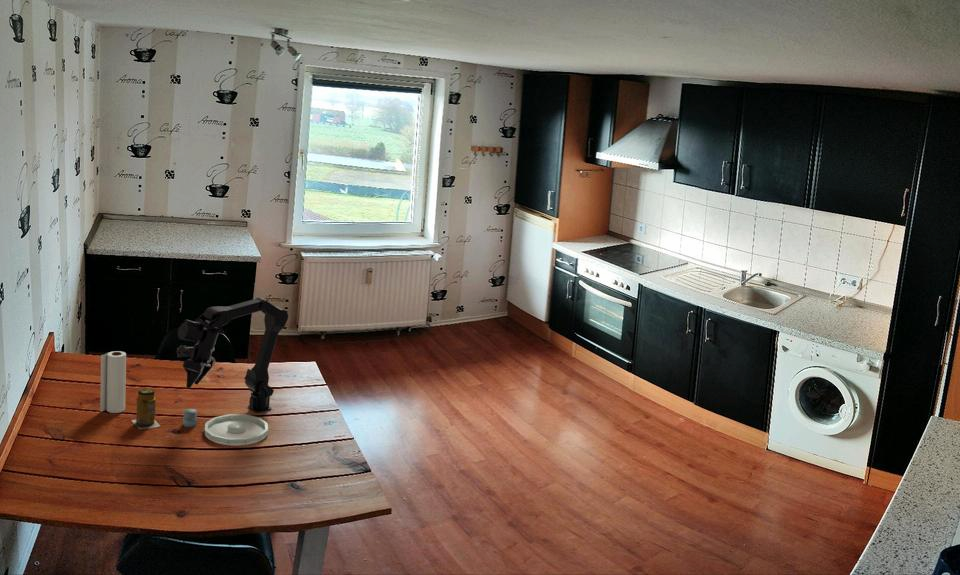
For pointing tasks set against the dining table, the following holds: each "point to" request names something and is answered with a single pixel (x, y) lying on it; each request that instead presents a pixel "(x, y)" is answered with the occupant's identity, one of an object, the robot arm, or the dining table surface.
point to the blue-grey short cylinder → (189, 417)
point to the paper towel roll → (113, 382)
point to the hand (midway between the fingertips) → (192, 386)
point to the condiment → (145, 409)
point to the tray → (224, 433)
